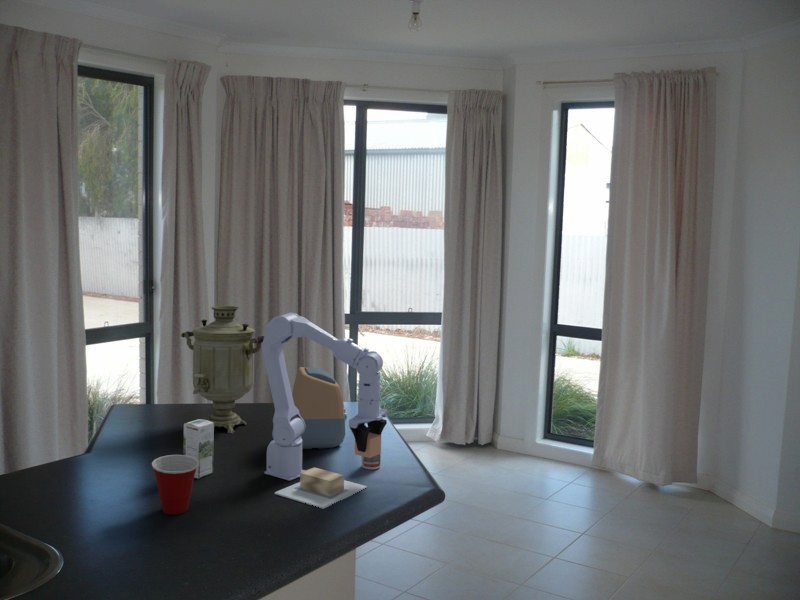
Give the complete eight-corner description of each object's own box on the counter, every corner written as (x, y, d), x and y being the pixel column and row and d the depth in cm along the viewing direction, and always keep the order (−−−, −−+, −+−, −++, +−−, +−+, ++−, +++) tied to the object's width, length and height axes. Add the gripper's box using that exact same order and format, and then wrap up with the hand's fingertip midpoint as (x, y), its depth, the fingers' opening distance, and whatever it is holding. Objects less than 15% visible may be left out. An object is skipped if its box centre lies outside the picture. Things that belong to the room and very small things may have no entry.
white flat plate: (274, 493, 191) (274, 492, 191) (320, 474, 206) (320, 473, 205) (323, 508, 182) (323, 507, 182) (367, 487, 197) (367, 486, 197)
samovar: (154, 428, 244) (153, 307, 240) (216, 412, 266) (216, 300, 261) (216, 446, 227) (217, 316, 223) (277, 428, 249) (279, 308, 244)
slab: (300, 487, 194) (300, 472, 194) (314, 481, 199) (314, 467, 198) (330, 496, 189) (330, 481, 188) (343, 490, 193) (344, 475, 193)
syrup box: (198, 469, 207) (198, 418, 206) (214, 473, 204) (214, 421, 203) (182, 475, 202) (182, 422, 201) (198, 479, 199) (198, 426, 198)
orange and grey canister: (347, 449, 229) (348, 374, 226) (292, 452, 225) (293, 375, 222) (338, 433, 245) (339, 363, 242) (286, 436, 241) (287, 364, 238)
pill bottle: (384, 468, 212) (384, 434, 211) (367, 471, 209) (368, 437, 208) (374, 462, 217) (374, 429, 216) (358, 465, 214) (358, 432, 213)
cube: (354, 454, 199) (355, 435, 199) (365, 449, 203) (366, 431, 203) (369, 458, 196) (370, 439, 196) (380, 453, 200) (381, 435, 200)
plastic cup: (173, 523, 171) (173, 472, 170) (142, 512, 177) (141, 463, 175) (209, 508, 180) (209, 459, 179) (178, 498, 186) (177, 451, 185)
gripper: (365, 406, 190) (363, 458, 191) (397, 395, 202) (395, 444, 203) (342, 401, 194) (341, 452, 195) (375, 391, 206) (374, 440, 207)
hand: (367, 448), depth 200 cm, fingers closed on cube, 5 cm apart
